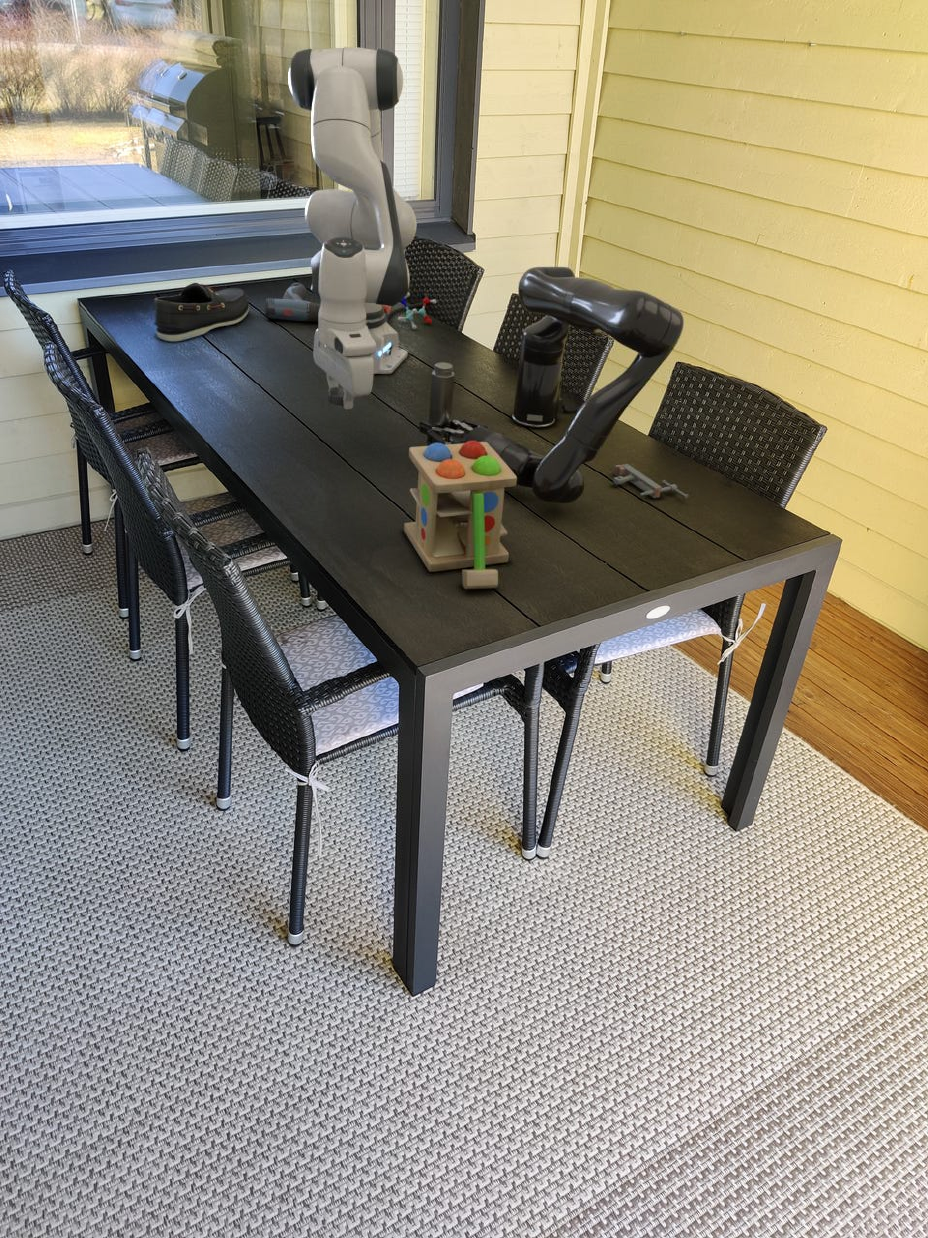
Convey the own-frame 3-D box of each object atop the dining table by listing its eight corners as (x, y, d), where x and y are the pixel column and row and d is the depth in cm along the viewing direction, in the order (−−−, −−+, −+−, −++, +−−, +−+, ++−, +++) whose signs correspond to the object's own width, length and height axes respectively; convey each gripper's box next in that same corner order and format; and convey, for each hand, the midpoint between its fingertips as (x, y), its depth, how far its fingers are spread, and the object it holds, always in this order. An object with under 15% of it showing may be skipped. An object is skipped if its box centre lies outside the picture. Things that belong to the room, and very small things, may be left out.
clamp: (603, 467, 195) (642, 459, 200) (601, 477, 197) (640, 469, 201) (650, 500, 185) (691, 491, 190) (648, 510, 186) (688, 501, 191)
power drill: (344, 304, 276) (335, 327, 259) (277, 298, 275) (264, 321, 258) (344, 285, 273) (335, 306, 256) (277, 279, 272) (264, 300, 255)
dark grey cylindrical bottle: (450, 459, 198) (458, 368, 188) (429, 460, 197) (436, 369, 186) (444, 449, 202) (451, 360, 191) (424, 450, 200) (429, 361, 190)
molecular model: (429, 321, 258) (417, 284, 257) (398, 334, 262) (385, 297, 260) (444, 323, 268) (432, 287, 267) (414, 335, 272) (402, 300, 271)
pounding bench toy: (528, 589, 159) (542, 490, 149) (446, 600, 155) (455, 499, 145) (478, 522, 177) (488, 429, 167) (403, 530, 172) (408, 435, 162)
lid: (329, 395, 193) (329, 386, 192) (353, 397, 193) (354, 388, 192) (327, 404, 189) (327, 395, 188) (352, 406, 189) (352, 397, 188)
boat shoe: (267, 317, 262) (265, 277, 257) (175, 343, 238) (170, 300, 233) (232, 308, 268) (229, 269, 262) (138, 333, 244) (133, 291, 238)
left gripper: (305, 316, 189) (305, 385, 197) (348, 350, 175) (347, 423, 182) (335, 313, 192) (334, 381, 200) (380, 347, 178) (377, 419, 185)
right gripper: (518, 425, 191) (455, 397, 200) (468, 443, 182) (404, 413, 191) (514, 460, 195) (452, 431, 204) (464, 480, 186) (402, 448, 195)
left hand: (340, 402), depth 191 cm, fingers closed on lid, 5 cm apart
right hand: (429, 423), depth 197 cm, fingers closed on dark grey cylindrical bottle, 4 cm apart
